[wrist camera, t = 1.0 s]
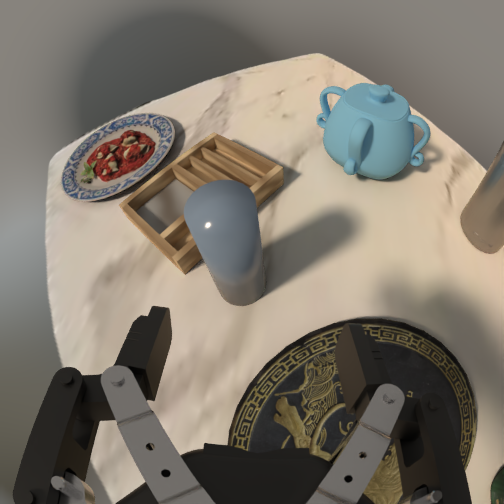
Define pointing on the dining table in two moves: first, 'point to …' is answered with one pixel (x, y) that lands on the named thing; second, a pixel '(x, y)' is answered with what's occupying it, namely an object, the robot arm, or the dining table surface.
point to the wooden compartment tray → (185, 183)
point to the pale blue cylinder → (228, 238)
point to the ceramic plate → (117, 156)
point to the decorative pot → (371, 130)
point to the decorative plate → (332, 401)
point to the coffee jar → (498, 488)
